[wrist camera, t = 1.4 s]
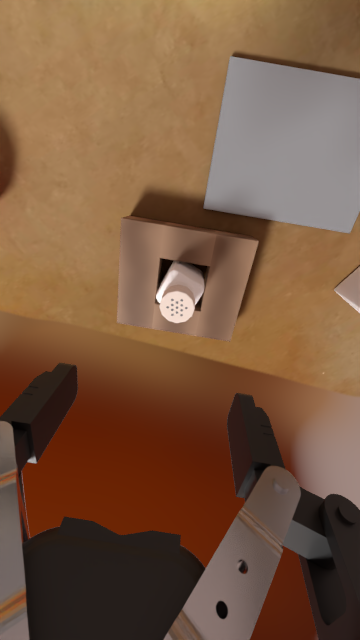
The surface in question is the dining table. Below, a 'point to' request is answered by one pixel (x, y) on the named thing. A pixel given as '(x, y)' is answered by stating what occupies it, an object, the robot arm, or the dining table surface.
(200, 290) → the salt shaker
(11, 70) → the dining table surface
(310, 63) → the dining table surface
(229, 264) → the shaker holder
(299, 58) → the dining table surface
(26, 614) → the robot arm
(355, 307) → the milk carton
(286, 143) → the placemat
